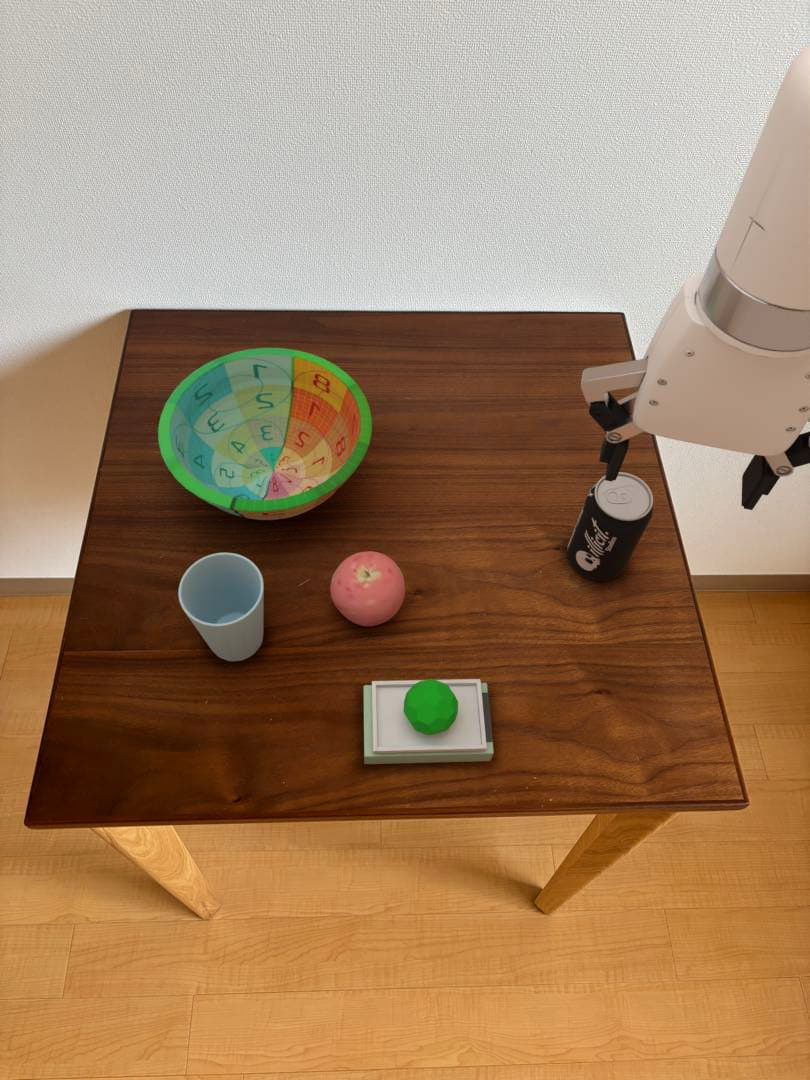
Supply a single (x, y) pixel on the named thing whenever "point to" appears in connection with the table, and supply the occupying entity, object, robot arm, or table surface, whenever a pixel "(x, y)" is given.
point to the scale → (401, 743)
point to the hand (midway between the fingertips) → (678, 479)
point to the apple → (368, 588)
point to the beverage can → (610, 526)
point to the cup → (225, 604)
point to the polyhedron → (430, 707)
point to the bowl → (265, 432)
